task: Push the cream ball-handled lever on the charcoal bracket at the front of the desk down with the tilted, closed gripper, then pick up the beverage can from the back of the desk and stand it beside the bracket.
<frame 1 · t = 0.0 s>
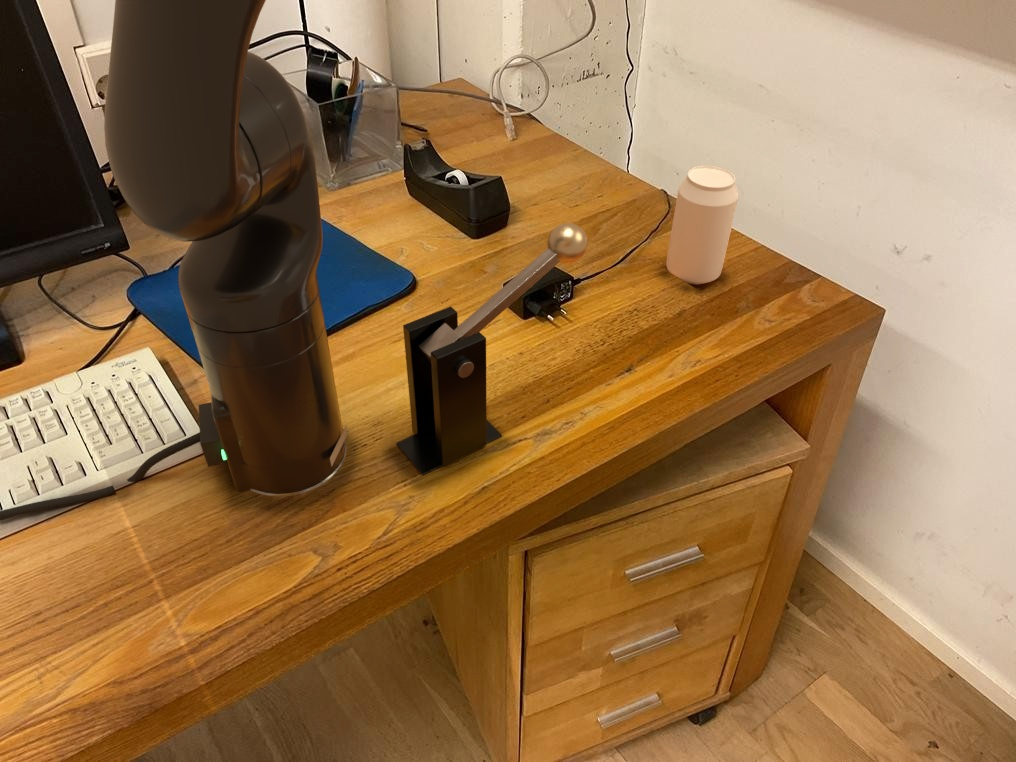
beverage can: (692, 275, 92), on the table
bracket: (449, 448, 70), on the table
lever: (507, 295, 64), point 14 cm above the table, hinge at 25.0°
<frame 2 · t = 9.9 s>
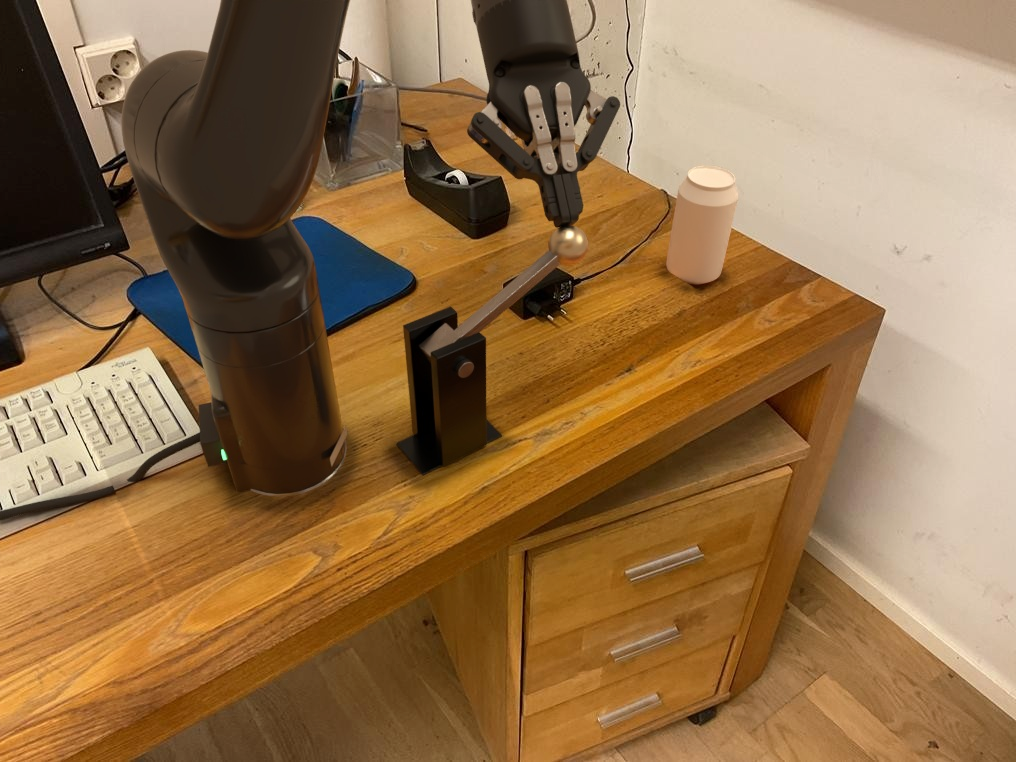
hand: (567, 223, 64), 18 cm above the table, tool tilted 45°, fingers closed
lever: (508, 296, 64), point 14 cm above the table, hinge at 23.8°, touching gripper
everything else where it was.
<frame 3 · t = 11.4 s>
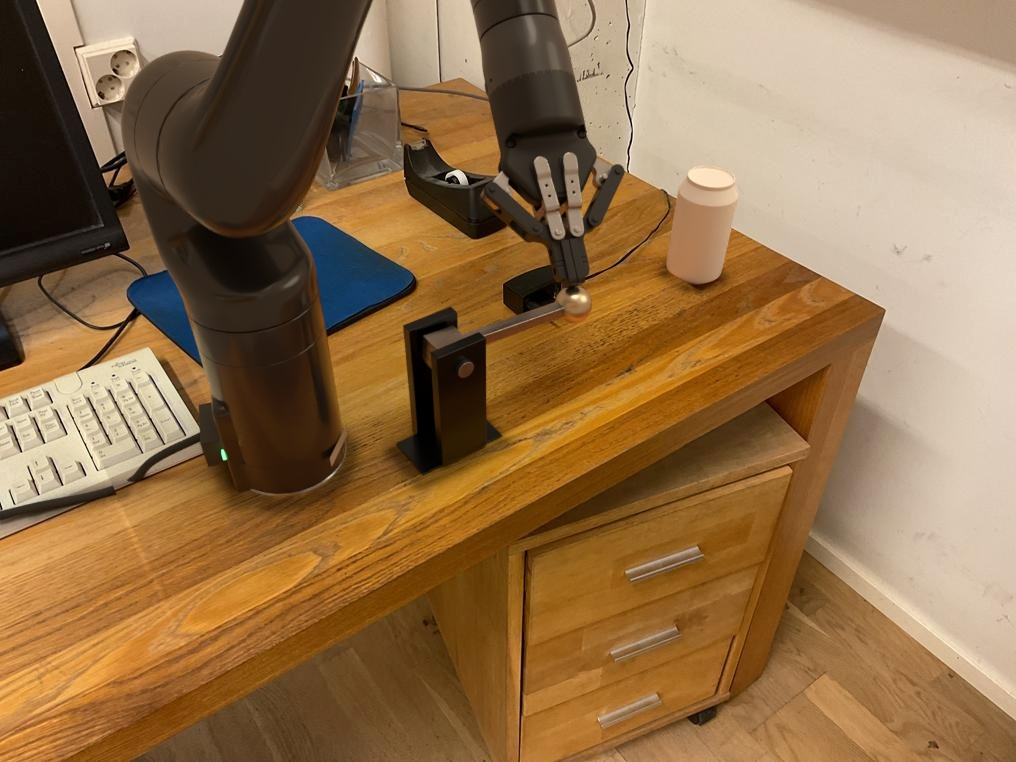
hand: (574, 285, 68), 12 cm above the table, tool tilted 45°, fingers closed
lever: (513, 325, 66), point 11 cm above the table, hinge at -4.3°, touching gripper
everything else where it was.
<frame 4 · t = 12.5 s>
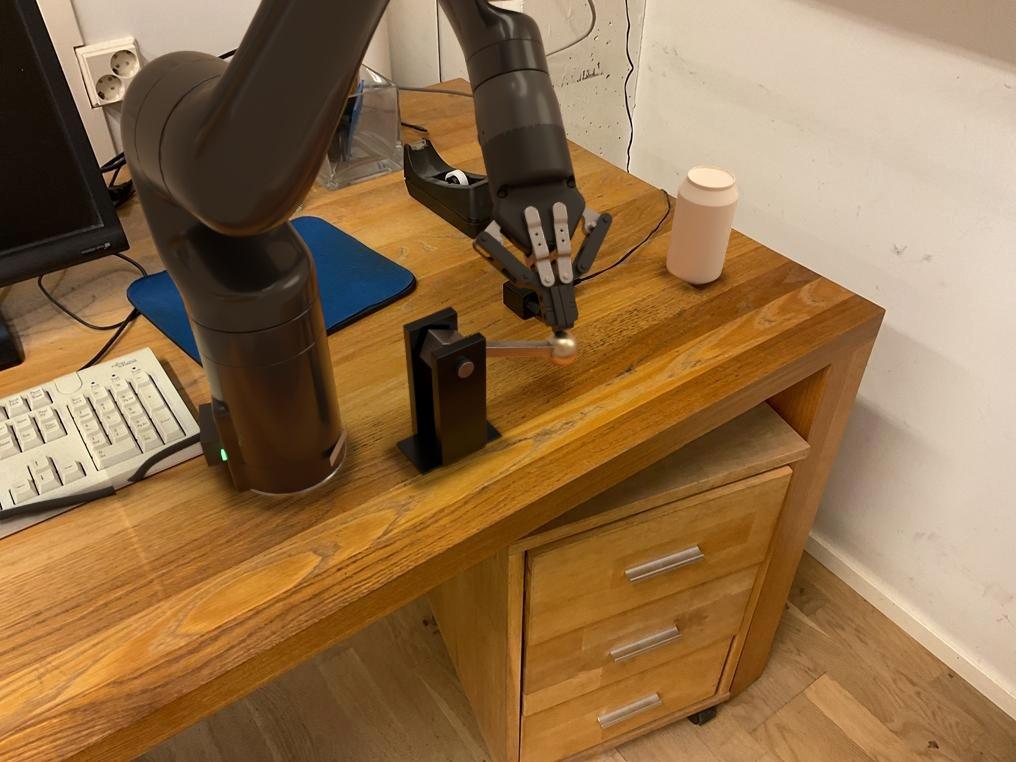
hand: (563, 329, 70), 8 cm above the table, tool tilted 45°, fingers closed
lever: (507, 348, 67), point 8 cm above the table, hinge at -24.0°, touching gripper
everything else where it was.
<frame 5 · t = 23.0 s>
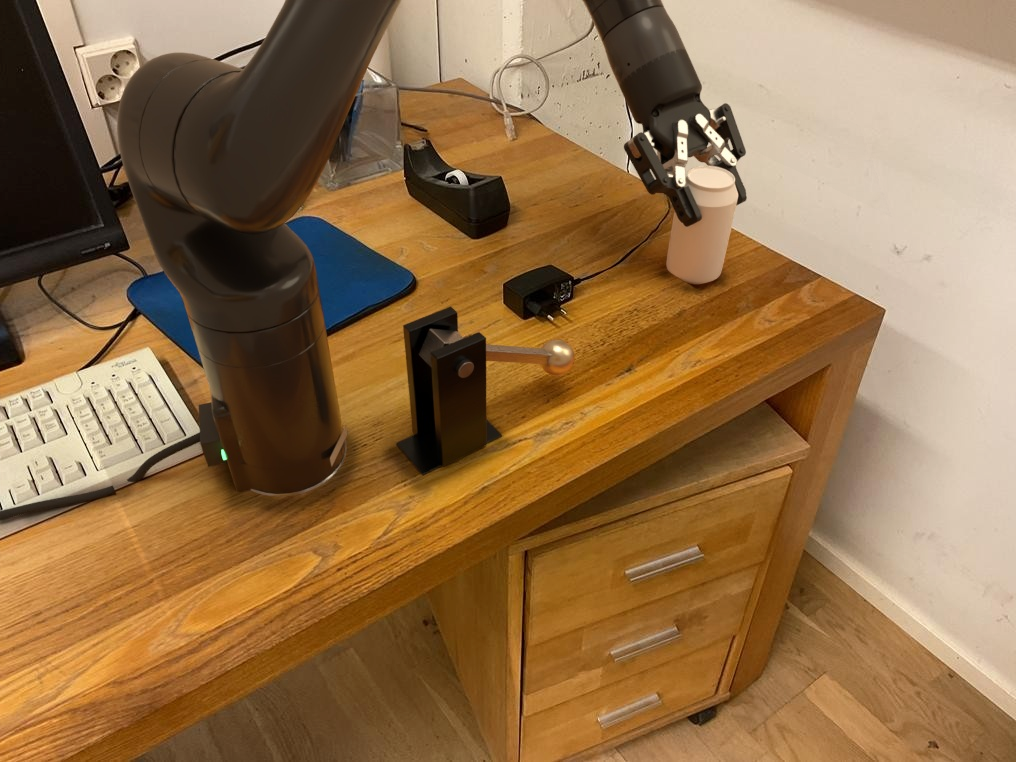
hand: (716, 213, 85), 8 cm above the table, tool tilted 45°, fingers closed on beverage can, 6 cm apart
beverage can: (692, 274, 91), on the table, touching gripper
lever: (505, 353, 68), point 8 cm above the table, hinge at -28.1°
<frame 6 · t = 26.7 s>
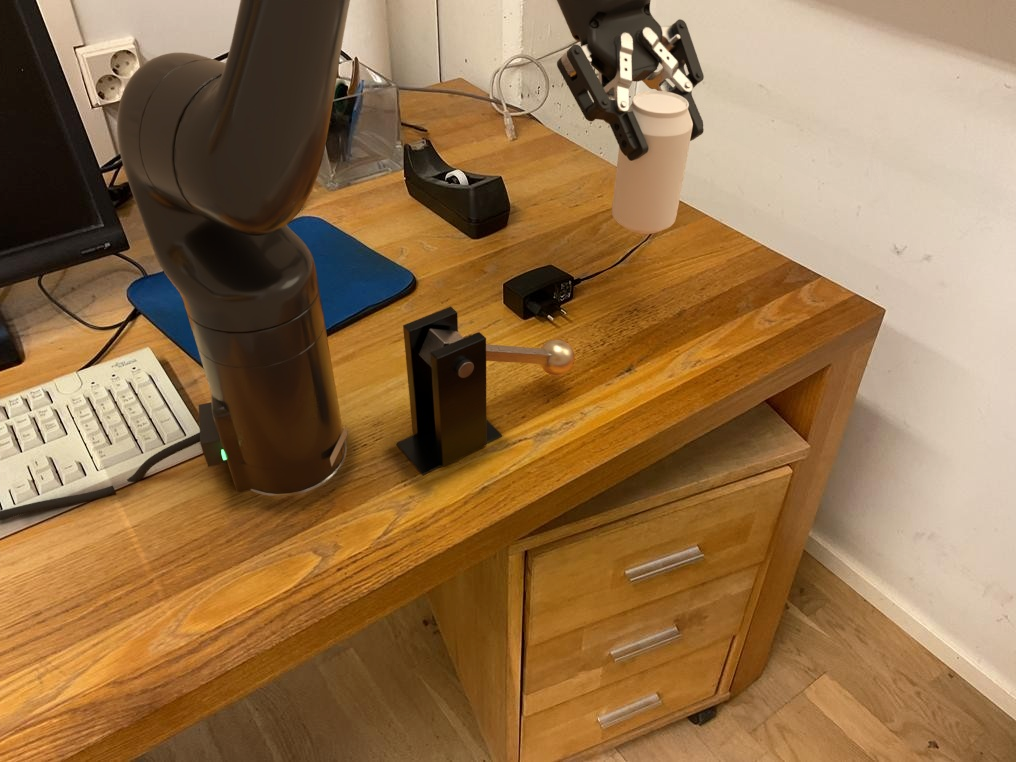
hand: (667, 146, 72), 19 cm above the table, tool tilted 45°, fingers closed on beverage can, 6 cm apart
beverage can: (642, 224, 79), point 11 cm above the table, touching gripper
everything else where it was.
when the fingers open (8 cm above the table, at t = 30.6 s): beverage can stays where it is, on the table.
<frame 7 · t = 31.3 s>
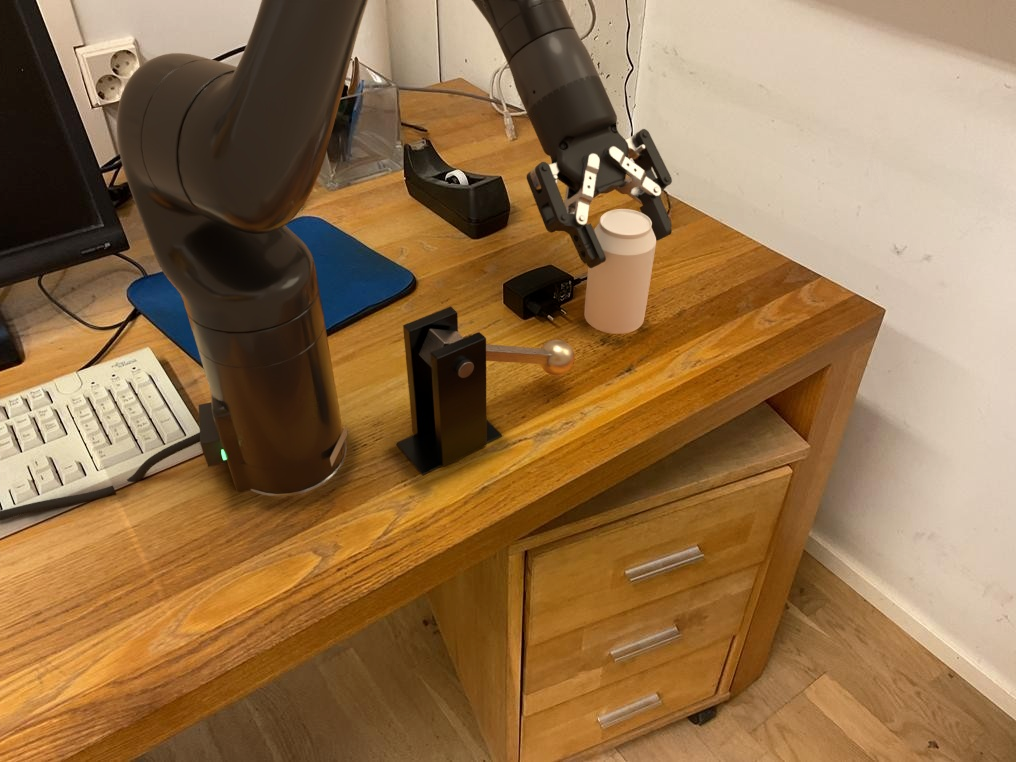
hand: (631, 250, 77), 10 cm above the table, tool tilted 45°, fingers open, 8 cm apart
beverage can: (613, 324, 84), on the table
everything else where it was.
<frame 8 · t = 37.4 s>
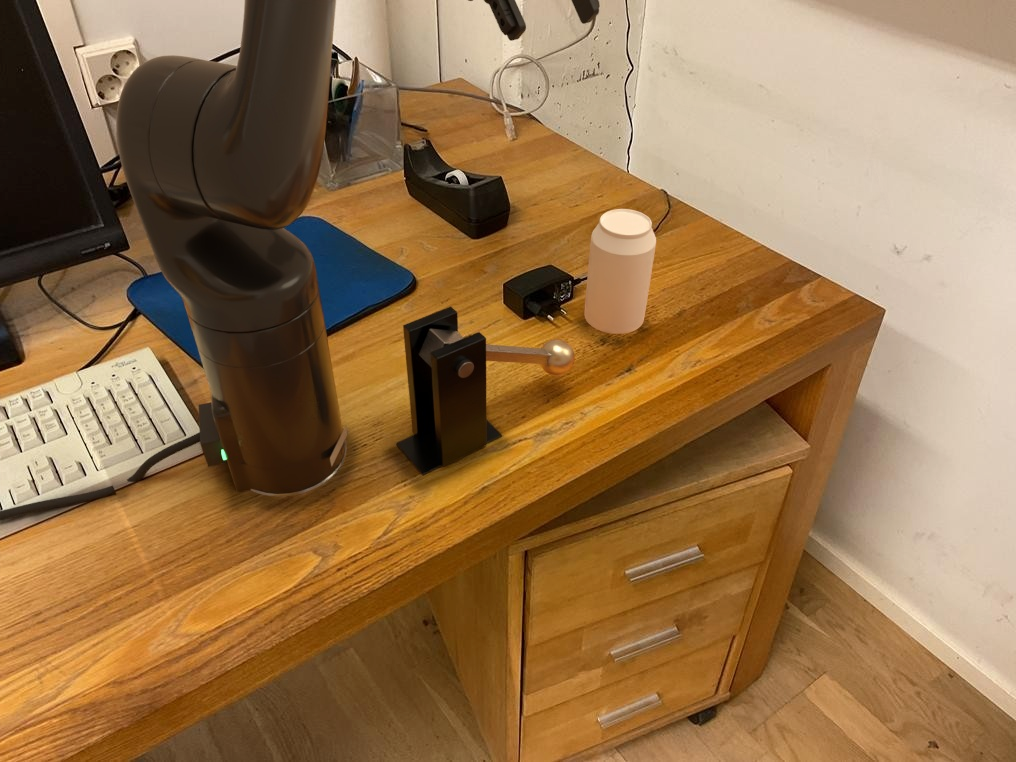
hand: (556, 26, 74), 27 cm above the table, tool tilted 45°, fingers open, 8 cm apart
nothing on the table moved.
at the end: lever at -28° (first picture: +25°); beverage can 24.3 cm from the bracket (horizontally); beverage can tilted 0° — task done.
